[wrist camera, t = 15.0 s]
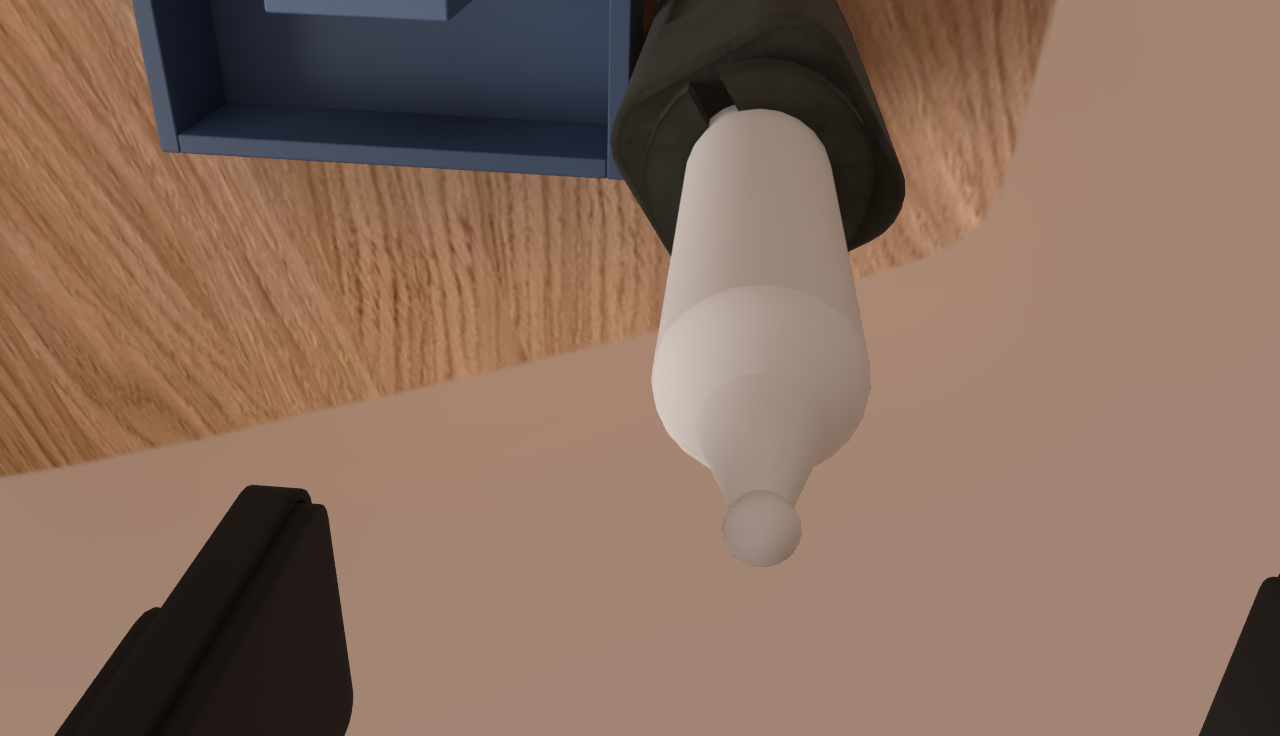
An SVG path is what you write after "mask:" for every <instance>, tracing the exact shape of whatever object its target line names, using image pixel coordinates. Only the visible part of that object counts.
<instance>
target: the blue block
mask: <svg viewBox="0 0 1280 736" xmlns="http://www.w3.org/2000/svg"><path fill="white" fill-rule="evenodd" d="M472 1H473V0H264V4H265V10H266V12H268V13H286V14H306V15H325V16H345V17H364V18H384V19H403V20H423V21H443V22H447V21H449V20H450V19H451V18H453V17H454V16H455V15H456V14H457V13H459V12H460V11H461V10H462V9H463V8H464V7H466V6H467V5H468V4H469V3H470V2H472Z"/></svg>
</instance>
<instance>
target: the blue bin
mask: <svg viewBox="0 0 1280 736" xmlns="http://www.w3.org/2000/svg"><path fill="white" fill-rule="evenodd" d="M132 2H133V7H134V12H135V17H136V22H137V27H138V33H139V38H140V43H141V48H142V53H143V58H144V63H145V68H146V73H147V78H148V83H149V88H150V93H151V98H152V103H153V108H154V113H155V118H156V123H157V128H158V134H159V139H160V144H161V149H162V151H163V152H173V153H180V152H182V153H191V154H208V155H225V156H241V157H258V158H274V159H291V160H307V161H324V162H340V163H357V164H373V165H390V166H407V167H423V168H440V169H456V170H473V171H489V172H506V173H522V174H539V175H556V176H572V177H589V178H608V179H617V180H624V179H623V177H622V175H621V174H620V172H619V170H618V168H617V166H616V164H615V161H614V159H613V157H612V151H611V145H610V137H611V128H612V125H613V122H614V120H615V117H616V115H617V112H618V110H619V107H620V104H621V102H622V99H623V97H624V94H625V92H626V89H627V87H628V84H629V81H630V79H631V76H632V74H633V71H634V69H635V66H636V63H637V61H638V58H639V56H640V53H641V51H642V41H643V8H644V0H473V1H472V2H470V3H469V4H468V5H467V6H466V7H464V8H463V9H462V10H461V11H460V12H459V13H457V14H456V15H455V16H454V17H453V18H451V19H450V20H449V21H447V22H443V21H423V20H403V19H384V18H364V17H345V16H325V15H306V14H286V13H268V12H266V10H265V4H264V0H132Z"/></svg>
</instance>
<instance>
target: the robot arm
mask: <svg viewBox="0 0 1280 736" xmlns="http://www.w3.org/2000/svg"><path fill="white" fill-rule="evenodd" d="M352 706H353V688H352V681H351V674H350V667H349V660H348V653H347V646H346V639H345V632H344V625H343V618H342V611H341V604H340V597H339V590H338V583H337V575H336V568H335V561H334V554H333V548H332V541H331V534H330V526H329V519H328V514H327V510H326V508H325V507H324V505H321V504H312V502H311V498H310V496H309V494H308V492H307V491H306V490H304V489H300V488H286V487H273V486H259V485H250V486H247V487H246V488H245V489H244V490H243V491H242V492H241V493H240V495H239V496H238V497H237V499H236V500H235V502H234V503H233V505H232V506H231V508H230V509H229V511H228V512H227V513H226V515H225V516H224V518H223V519H222V521H221V522H220V523H219V525H218V526H217V528H216V529H215V531H214V532H213V534H212V535H211V537H210V538H209V539H208V541H207V542H206V544H205V545H204V547H203V548H202V549H201V551H200V552H199V554H198V555H197V557H196V558H195V559H194V561H193V562H192V564H191V565H190V567H189V568H188V570H187V571H186V572H185V574H184V575H183V577H182V578H181V580H180V581H179V583H178V584H177V586H176V587H175V588H174V590H173V591H172V593H171V594H170V596H169V597H168V598H167V600H166V601H165V603H164V604H163V606H162V607H161V608H159V607H154V608H152V609H150V610H148V611H146V612H145V613H144V614H143V615H142V616H141V617H140V618H139V619H138V620H137V621H136V622H135V624H134V625H133V626H132V628H131V629H130V630H129V632H128V633H127V634H126V636H125V637H124V639H123V640H122V641H121V643H120V644H119V646H118V647H117V648H116V650H115V651H114V653H113V654H112V655H111V657H110V658H109V660H108V661H107V662H106V664H105V665H104V667H103V668H102V669H101V671H100V672H99V674H98V675H97V676H96V678H95V679H94V681H93V682H92V684H91V685H90V686H89V688H88V689H87V691H86V692H85V694H84V695H83V696H82V698H81V699H80V700H79V702H78V703H77V705H76V706H75V707H74V709H73V710H72V712H71V713H70V714H69V716H68V717H67V719H66V720H65V722H64V723H63V724H62V726H61V727H60V728H59V730H58V732H57V733H56V734H55V736H344V735H345V733H346V730H347V728H348V725H349V722H350V717H351V713H352ZM1199 736H1280V574H1279V576H1278V577H1270V578H1267V579H1266V580H1265V581H1263V583H1262V585H1261V586H1260V588H1259V591H1258V593H1257V596H1256V598H1255V600H1254V603H1253V605H1252V608H1251V610H1250V613H1249V615H1248V617H1247V620H1246V622H1245V625H1244V627H1243V630H1242V632H1241V635H1240V637H1239V639H1238V642H1237V644H1236V647H1235V649H1234V652H1233V654H1232V656H1231V659H1230V661H1229V664H1228V666H1227V669H1226V671H1225V673H1224V676H1223V678H1222V681H1221V683H1220V686H1219V688H1218V690H1217V693H1216V695H1215V698H1214V700H1213V703H1212V705H1211V707H1210V710H1209V712H1208V715H1207V717H1206V720H1205V722H1204V724H1203V727H1202V729H1201V732H1200V734H1199Z"/></svg>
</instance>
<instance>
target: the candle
mask: <svg viewBox="0 0 1280 736" xmlns="http://www.w3.org/2000/svg"><path fill="white" fill-rule="evenodd" d="M610 145H611V151H612V157H613V159H614V161H615V164H616V166H617V168H618V170H619V172H620V174H621V175H622V177H623V179H624V180H625V182H626V183H627V185H628V187H629V188H630V190H631V192H632V193H633V195H634V197H635V198H636V200H637V202H638V203H639V205H640V206H641V208H642V210H643V211H644V213H645V215H646V216H647V218H648V220H649V221H650V223H651V224H652V226H653V228H654V229H655V231H656V233H657V234H658V236H659V238H660V239H661V241H662V243H663V244H664V246H665V247H666V249H667V251H668V252H669V254H670V256H671V261H670V267H669V273H668V279H667V285H666V291H665V297H664V303H663V309H662V315H661V321H660V327H659V333H658V340H657V346H656V352H655V358H654V365H653V372H652V378H651V381H652V388H653V394H654V400H655V406H656V409H657V412H658V414H659V416H660V418H661V420H662V422H663V424H664V427H665V429H666V431H667V432H668V434H669V435H670V436H671V437H672V438H673V439H674V441H675V442H676V443H677V444H678V445H679V446H680V447H681V449H682V450H683V451H684V452H686V453H687V454H689V455H690V456H692V457H693V458H695V459H696V460H697V461H699V462H700V463H702V464H703V465H705V466H707V467H708V468H710V469H711V471H712V473H713V475H714V477H715V479H716V481H717V483H718V485H719V487H720V489H721V491H722V493H723V496H724V497H725V499H726V502H727V504H728V506H729V510H728V512H727V513H726V515H725V517H724V521H723V527H722V528H723V529H722V532H723V538H724V541H725V543H726V545H727V547H728V549H729V551H730V552H731V553H732V554H733V555H734V556H735V557H736V558H737V559H739V560H740V561H742V562H744V563H746V564H749V565H752V566H757V567H769V566H773V565H776V564H779V563H781V562H782V561H784V560H786V559H787V558H789V557H790V556H791V555H792V554H793V552H794V551H795V549H796V548H797V546H798V544H799V541H800V537H801V524H800V519H799V517H798V515H797V513H796V511H795V510H794V509H793V508H794V506H795V504H796V502H797V500H798V498H799V496H800V494H801V492H802V489H803V487H804V485H805V483H806V481H807V479H808V477H809V475H810V473H811V470H812V468H813V467H815V466H817V465H818V464H820V463H822V462H824V461H825V460H827V459H829V458H830V457H832V456H833V455H834V454H835V453H836V452H837V451H838V450H839V449H840V448H841V447H842V446H843V445H844V444H845V443H846V442H848V441H849V440H850V438H851V436H852V435H853V433H854V431H855V430H856V428H857V427H858V425H859V423H860V422H861V420H862V418H863V415H864V411H865V407H866V403H867V400H868V396H869V392H870V388H871V387H870V366H869V365H870V363H869V358H868V353H867V348H866V343H865V337H864V332H863V327H862V322H861V317H860V312H859V307H858V302H857V296H856V292H855V286H854V281H853V276H852V271H851V266H850V261H849V255H848V252H849V251H851V250H853V249H855V248H857V247H859V246H861V245H864V244H866V243H868V242H870V241H872V240H873V239H875V238H876V237H878V236H880V235H881V234H883V233H884V232H885V231H886V230H887V229H888V228H889V227H890V226H891V225H892V224H893V223H894V221H895V219H896V217H897V216H898V214H899V212H900V210H901V209H902V205H903V201H904V197H905V179H904V176H903V173H902V169H901V166H900V164H899V161H898V158H897V155H896V153H895V150H894V147H893V145H892V142H891V139H890V136H889V134H888V131H887V128H886V126H885V123H884V120H883V117H882V115H881V112H880V109H879V107H878V104H877V101H876V98H875V96H874V93H873V90H872V88H871V85H870V82H869V79H868V77H867V74H866V71H865V69H864V66H863V63H862V60H861V58H860V55H859V52H858V50H857V47H856V44H855V41H854V39H853V36H852V33H851V31H850V29H849V27H848V25H847V23H846V21H845V19H844V16H843V14H842V12H841V10H840V8H839V6H838V4H837V2H836V0H661V2H660V5H659V7H658V10H657V12H656V15H655V17H654V20H653V23H652V25H651V28H650V30H649V33H648V35H647V38H646V40H645V43H644V46H643V48H642V51H641V53H640V56H639V58H638V61H637V63H636V66H635V69H634V71H633V74H632V76H631V79H630V81H629V84H628V87H627V89H626V92H625V94H624V97H623V99H622V102H621V104H620V107H619V110H618V112H617V115H616V117H615V120H614V122H613V125H612V128H611V137H610Z"/></svg>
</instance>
